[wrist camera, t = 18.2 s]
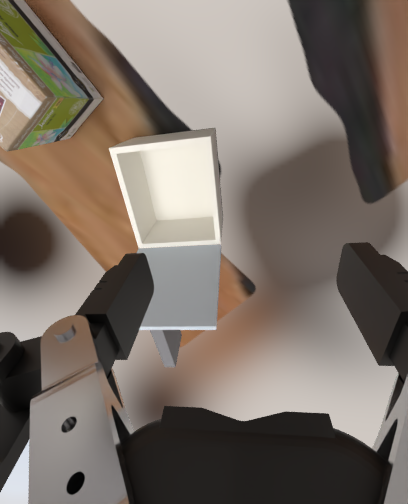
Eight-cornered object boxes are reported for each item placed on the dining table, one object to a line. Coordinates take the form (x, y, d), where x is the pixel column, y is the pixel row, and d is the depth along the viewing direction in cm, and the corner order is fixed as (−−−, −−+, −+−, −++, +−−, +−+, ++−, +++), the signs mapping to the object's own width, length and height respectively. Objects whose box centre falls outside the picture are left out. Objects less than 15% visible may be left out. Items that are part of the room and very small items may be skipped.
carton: (133, 137, 42) (108, 148, 34) (215, 127, 40) (210, 136, 32) (154, 222, 50) (138, 248, 42) (223, 218, 48) (220, 244, 40)
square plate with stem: (98, 326, 29) (121, 365, 34) (215, 326, 27) (222, 368, 32) (138, 248, 42) (151, 285, 47) (220, 244, 40) (224, 283, 45)
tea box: (106, 97, 39) (48, 98, 27) (71, 139, 43) (5, 156, 31) (23, -5, 34) (-99, -63, 21) (-9, 54, 38) (-128, 33, 25)
